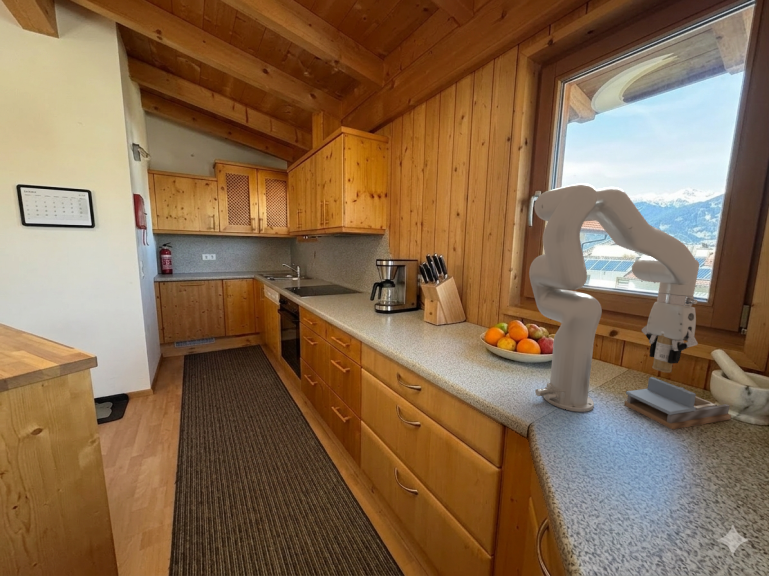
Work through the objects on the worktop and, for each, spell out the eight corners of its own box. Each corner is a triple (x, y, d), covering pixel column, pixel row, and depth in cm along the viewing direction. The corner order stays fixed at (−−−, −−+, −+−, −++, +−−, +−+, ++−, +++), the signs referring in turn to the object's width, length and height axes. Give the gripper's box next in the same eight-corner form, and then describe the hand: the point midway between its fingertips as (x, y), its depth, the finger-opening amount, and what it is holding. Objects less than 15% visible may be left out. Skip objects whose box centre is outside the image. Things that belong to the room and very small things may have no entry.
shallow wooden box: (672, 429, 76) (674, 416, 75) (624, 404, 87) (625, 393, 87) (730, 419, 81) (732, 406, 80) (677, 397, 92) (679, 386, 92)
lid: (669, 414, 76) (672, 398, 75) (626, 394, 86) (627, 379, 86) (695, 410, 78) (697, 394, 77) (649, 390, 88) (651, 376, 88)
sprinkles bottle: (673, 371, 93) (681, 327, 92) (668, 374, 91) (677, 329, 89) (654, 366, 97) (661, 324, 95) (649, 368, 95) (656, 325, 93)
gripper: (720, 306, 84) (706, 370, 86) (653, 295, 100) (643, 350, 103) (699, 305, 82) (687, 371, 85) (635, 295, 98) (626, 350, 101)
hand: (663, 359), depth 94 cm, fingers closed on sprinkles bottle, 4 cm apart
